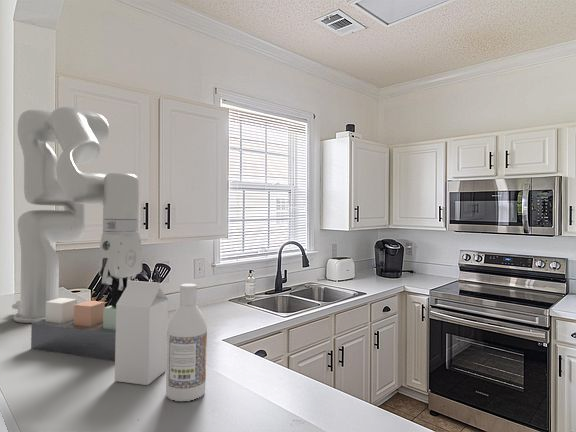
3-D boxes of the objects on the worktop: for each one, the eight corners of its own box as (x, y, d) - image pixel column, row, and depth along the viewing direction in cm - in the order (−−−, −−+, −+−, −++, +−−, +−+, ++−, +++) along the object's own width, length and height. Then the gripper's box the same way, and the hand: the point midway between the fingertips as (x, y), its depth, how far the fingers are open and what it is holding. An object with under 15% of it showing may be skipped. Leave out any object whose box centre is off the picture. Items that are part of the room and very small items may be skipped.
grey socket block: (31, 349, 92) (31, 323, 92) (65, 335, 102) (65, 312, 102) (116, 361, 87) (117, 333, 87) (144, 346, 96) (144, 321, 96)
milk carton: (147, 386, 75) (150, 286, 75) (114, 381, 77) (116, 283, 76) (166, 371, 82) (168, 279, 82) (135, 367, 84) (137, 277, 83)
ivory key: (45, 326, 94) (45, 301, 94) (60, 321, 99) (61, 297, 99) (61, 328, 93) (61, 303, 93) (76, 323, 98) (76, 299, 98)
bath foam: (209, 399, 71) (212, 287, 71) (169, 406, 68) (172, 289, 68) (200, 383, 77) (202, 280, 77) (163, 389, 74) (165, 282, 74)
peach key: (73, 330, 93) (74, 304, 92) (88, 324, 97) (88, 300, 97) (90, 332, 91) (90, 306, 91) (104, 326, 96) (104, 302, 96)
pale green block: (103, 334, 91) (103, 307, 90) (116, 328, 95) (116, 303, 95) (120, 336, 89) (121, 309, 89) (133, 330, 94) (133, 305, 94)
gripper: (113, 228, 84) (111, 316, 84) (153, 226, 98) (152, 300, 98) (82, 227, 85) (81, 312, 86) (127, 225, 100) (126, 298, 100)
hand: (119, 306), depth 92 cm, fingers closed
